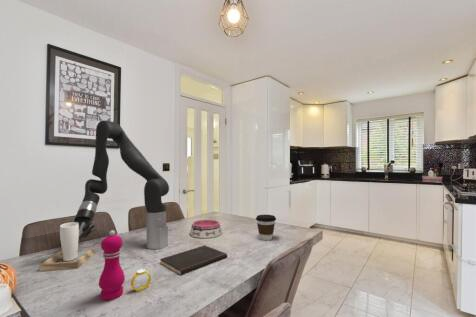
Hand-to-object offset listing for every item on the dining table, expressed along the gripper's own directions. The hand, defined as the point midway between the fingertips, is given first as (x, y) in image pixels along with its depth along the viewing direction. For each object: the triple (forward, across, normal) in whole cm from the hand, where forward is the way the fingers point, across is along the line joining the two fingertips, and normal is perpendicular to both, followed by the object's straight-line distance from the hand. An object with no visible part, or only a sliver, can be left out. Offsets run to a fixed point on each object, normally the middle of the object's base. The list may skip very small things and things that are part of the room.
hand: (73, 245), depth 108 cm
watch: (+28, +36, -22) cm, 50 cm away
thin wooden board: (+7, +1, 0) cm, 7 cm away
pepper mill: (+30, +28, -23) cm, 46 cm away
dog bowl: (-14, +59, +20) cm, 64 cm away
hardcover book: (+14, +53, -7) cm, 55 cm away
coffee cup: (-3, +90, +8) cm, 91 cm away
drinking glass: (+5, 0, +2) cm, 6 cm away
